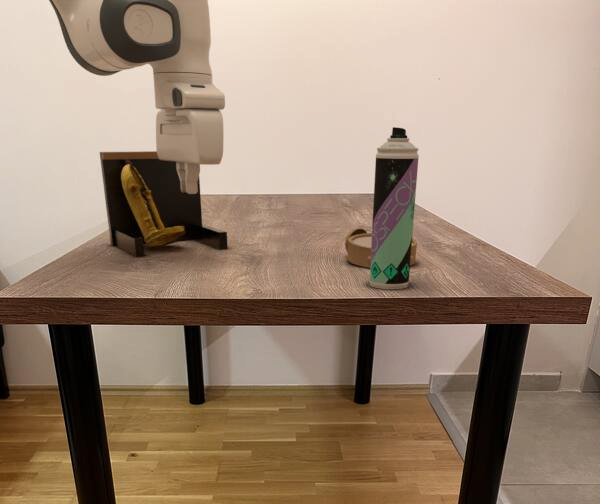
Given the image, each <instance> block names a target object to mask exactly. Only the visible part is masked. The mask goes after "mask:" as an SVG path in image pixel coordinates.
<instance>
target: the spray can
mask: <svg viewBox="0 0 600 504" xmlns="http://www.w3.org/2000/svg"><path fill="white" fill-rule="evenodd" d="M386 139H387V141H386V142H384V143H382V145H380V146H379V147H376V151H377V153H376V154H375V167H374V186H373V204H372V205H373V207H372V226H371V233H372V242H371V262H370V268H369V286H370V287H372V288H375V289H381V290H401V289H406V288H408V287H409V283H410V273H411V272H410V271H411V269H410V268H411V266H410V260H411V247H412V238H413V232H414V220H415V206H416V196H417V195H416V194H417V182H418V170H419V156H420V155H419V153H418V152H419V148H418V147H416V146H415V145H414V144H413V143H411V141H410V137H408V135H407V130H406V129H405V128H402V127H395V126H394V127H392V130H391V134H390V135H389V137H388V138H386Z"/></svg>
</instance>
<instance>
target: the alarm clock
mask: <svg viewBox="0 0 600 504" xmlns="http://www.w3.org/2000/svg"><path fill="white" fill-rule="evenodd" d="M371 242H372V232H367V231H366V230H365V229H363V228H354V229H352V230H351V231H349V232H348V234H347V235H346V237H345V241H344V247H345V250H346V252H347V255H346V256H347V258H346V259H347V262H349V263H351V264H352V265H356V266H359V267H363V268H368V269H370V262H371ZM417 248H418V240H417V239H415V238H413V237H412V247H411V260H410V267H411V266H412V265H414V264H416V260H417V259H416V257H417Z"/></svg>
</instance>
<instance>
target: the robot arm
mask: <svg viewBox="0 0 600 504" xmlns="http://www.w3.org/2000/svg"><path fill="white" fill-rule="evenodd" d="M48 1H49V3H50V5H51V6H52V8H53V10H54V12H55V15H56V17H57V20H58V23H59V27H60V30H61V34H62V36H63V40H64V43H65V45H66V47H67V49H68V52H69V54H70V55H71V57H72V59H74V61H75V62H76V63H77V64H78V65H79V66H80V67H81V68H83V69H84V70H85V71H87V72H89V73H90V74H93V75H96V76H100V77H101V76H102V77H108V76H109V77H110V76H112V75H115V74H117V73H120V72H122V71H125V70H132V69H135V68H139V67H143V66H145V65H149V66H150V67H151V69H152V75H153V88H154V89H153V91H154V103H155V104H154V105H155V109H157V110H159V111H158V112H157V113H156V117H155V145H156V151H157V155H158V158H159V159H160V160H165V161H174V162H176V169H177V173H178V176H179V179H180V184H181V191H182V192H183V193H188V194H196V193H197V192H198V187H197V182H198V178H199V179H200V173H201V165H203V166H204V165H205V166H206V165H208V166H215V165H220V164H221V162H222V159H223V155H224V117H223V113H222V110H224V109H225V108H226V97H225V94H224V93H225V92H223V91H221V90H220V89H219V88H218V87H217V86H216V85H215V84H214V83H213V71H212V68H211V64H210V49H211V45H212V35H211V34H212V33H211V32H212V31H211V18H210V7H209V1H208V0H48Z"/></svg>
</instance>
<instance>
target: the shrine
mask: <svg viewBox="0 0 600 504" xmlns="http://www.w3.org/2000/svg"><path fill="white" fill-rule="evenodd" d="M125 162H126V166H124V168H123V170H122V173H121V180H122V186H123V190H124V193H125V195H126V198H127V201H128V203H129V205H130V207H131V209H132V212H133V214H134V216H135V219H136V220H137V223H138V225H139V227H140V229H141V231H142V234H143V236H144V241H145V242H146V244H145V246H146V247H147V248H159V247H163V246H168V245H171V244H174V243H176V242H179V241H178V238H179V237H182V236H184V234H185V233H186V232H185V230H184V226H176V227H172V228H164V225H163V223H162V222H161V220H160V217H159V214H158V211H157V209H156V206H155V204H154V202H153V200H152V199H153V198H152V197H151V190H148V188H147V187H146V185H145V182H144V180H143V179H142V177H141V176H140V174H138V171H137V170H136V168H135V167H133V165H132V162H130V160H129V159H125Z"/></svg>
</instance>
